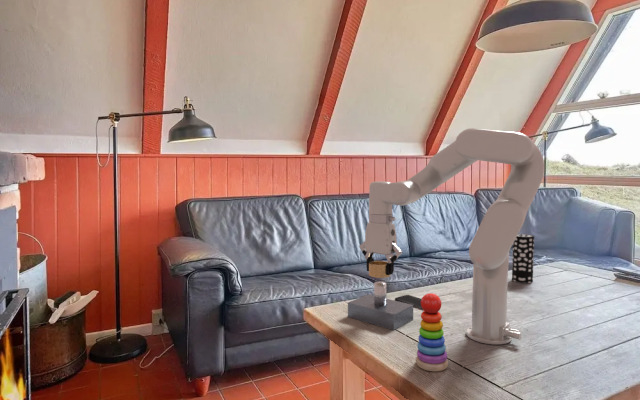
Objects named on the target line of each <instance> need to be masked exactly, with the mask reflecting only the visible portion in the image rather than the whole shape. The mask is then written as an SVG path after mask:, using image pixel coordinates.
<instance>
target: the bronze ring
mask: <svg viewBox="0 0 640 400" xmlns="http://www.w3.org/2000/svg"><path fill="white" fill-rule="evenodd" d="M387 263H388V261H385V260H374V261H372V262H369V271H368V276H370V277H372V278H377V279H383V278H389V277H391V275H386V264H387Z"/></svg>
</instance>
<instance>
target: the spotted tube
mask: <svg viewBox="0 0 640 400" xmlns="http://www.w3.org/2000/svg"><path fill="white" fill-rule="evenodd" d="M534 253H535V235H534V234H533V235H532V234H525V233H524V234H522V233H518V235H517V237H516V239H515V241H514V243H513V245H512V259H511V260H512V261H511V262H512V263H511V264H512V266H511V281H513V282H515V283H520V284H531V283H533V281H534V257H535V256H534V255H535V254H534Z"/></svg>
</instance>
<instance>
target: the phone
mask: <svg viewBox="0 0 640 400" xmlns="http://www.w3.org/2000/svg"><path fill="white" fill-rule="evenodd" d="M421 299H422V298H420V297H417V296H413V295H410V294H405V295H400V296H397V297H394V301H399V302H403V303H407V304H411V305H413V308H416V309H419V310H422V311H424V310H423V309H422V307H421Z"/></svg>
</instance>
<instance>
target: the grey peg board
mask: <svg viewBox="0 0 640 400" xmlns="http://www.w3.org/2000/svg"><path fill="white" fill-rule="evenodd" d="M373 286H374V287H373V288H374V292H373V295H372V294H366V295H363V296H361V297H359V298H358V297H357V298H356V299H353V300H351V301H348V302H347V317H348V318H350V317H351V318H350V319H353V320H358V321H361V322H364V323H368V324H371V325H374V326H378V327H381V328H385V329H389V330H391V331H395V330H397V329H399V328H401V327H402V326H405V325H406V324H408V323H410V322H412V321H413V320H414V307H413V305H411V304H407V303H403V302H399V301H395V299H394V300H393V299H388V298H387V282H385V281H374V283H373Z"/></svg>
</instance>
